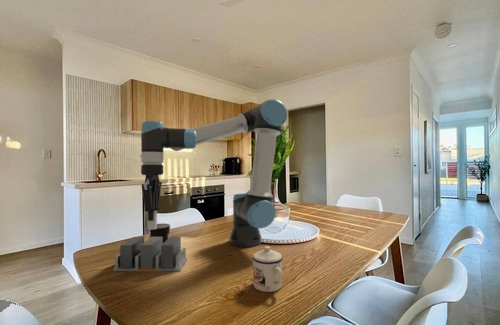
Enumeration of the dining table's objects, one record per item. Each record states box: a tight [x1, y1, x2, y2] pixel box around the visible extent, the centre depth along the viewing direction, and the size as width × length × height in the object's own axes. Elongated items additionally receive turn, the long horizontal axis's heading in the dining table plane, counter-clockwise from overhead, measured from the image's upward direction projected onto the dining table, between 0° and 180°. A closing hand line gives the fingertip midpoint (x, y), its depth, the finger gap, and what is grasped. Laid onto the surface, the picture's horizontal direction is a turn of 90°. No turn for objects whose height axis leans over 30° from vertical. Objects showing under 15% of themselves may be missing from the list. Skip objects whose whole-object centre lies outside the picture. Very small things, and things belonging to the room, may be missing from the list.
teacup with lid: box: [252, 245, 284, 293], centre depth 75 cm, size 12×9×12 cm
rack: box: [113, 236, 188, 273], centre depth 90 cm, size 23×10×9 cm, turn 90°
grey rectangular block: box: [141, 237, 163, 268], centre depth 90 cm, size 4×10×8 cm, turn 0°
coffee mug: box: [149, 222, 171, 243], centre depth 110 cm, size 12×9×10 cm
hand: (152, 228), depth 91 cm, fingers closed
